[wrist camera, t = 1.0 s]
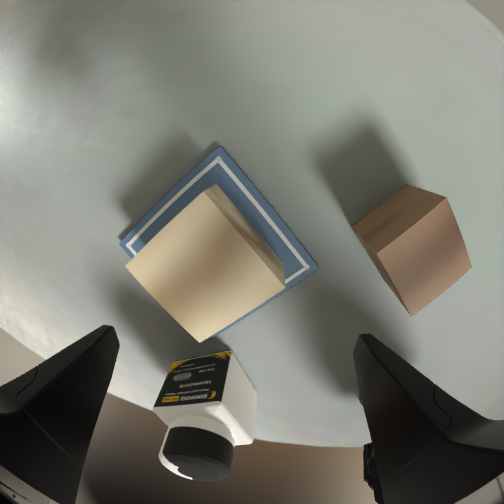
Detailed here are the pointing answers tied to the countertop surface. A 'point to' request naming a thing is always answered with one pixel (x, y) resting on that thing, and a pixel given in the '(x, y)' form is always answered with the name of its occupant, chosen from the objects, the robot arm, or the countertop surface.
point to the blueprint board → (247, 202)
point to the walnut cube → (415, 245)
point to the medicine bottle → (205, 415)
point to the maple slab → (208, 266)
